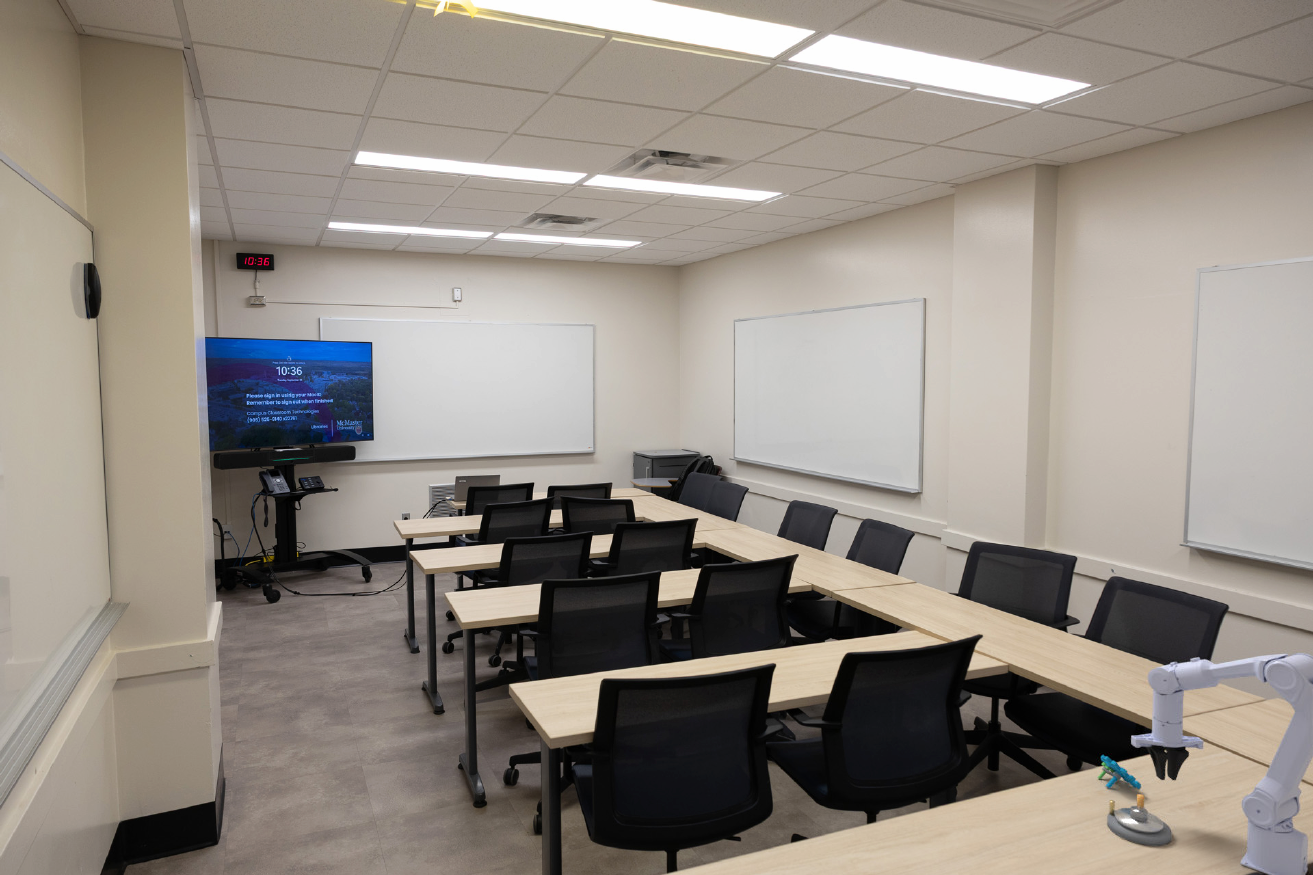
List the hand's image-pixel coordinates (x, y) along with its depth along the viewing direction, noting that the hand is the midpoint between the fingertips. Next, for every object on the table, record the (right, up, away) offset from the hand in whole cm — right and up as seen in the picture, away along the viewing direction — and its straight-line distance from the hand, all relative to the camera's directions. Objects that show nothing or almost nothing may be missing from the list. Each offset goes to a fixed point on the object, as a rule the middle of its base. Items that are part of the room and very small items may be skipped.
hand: (1166, 778), depth 176 cm
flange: (-8, -8, -4) cm, 12 cm away
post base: (-9, -10, -4) cm, 14 cm away
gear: (-1, -9, +16) cm, 18 cm away
